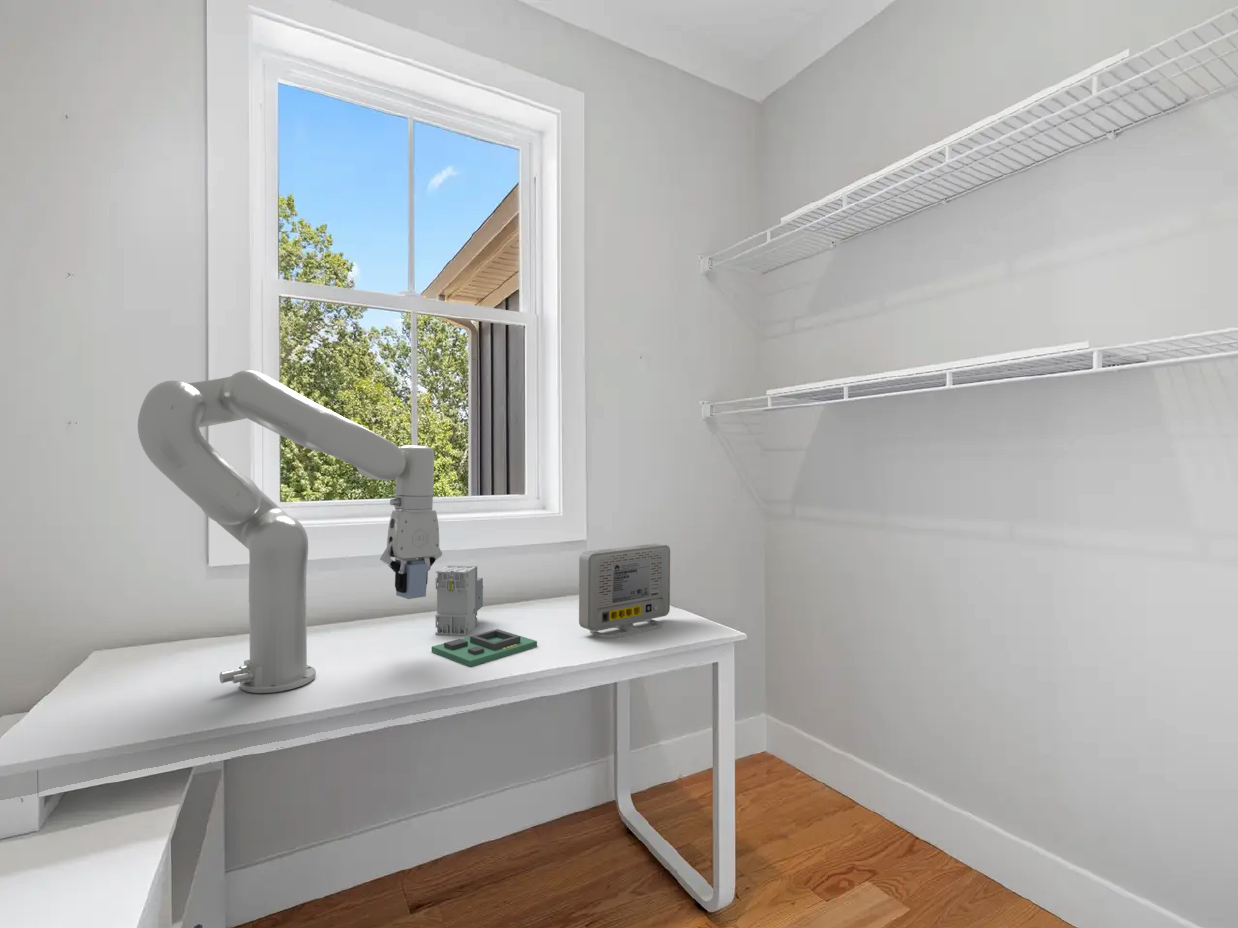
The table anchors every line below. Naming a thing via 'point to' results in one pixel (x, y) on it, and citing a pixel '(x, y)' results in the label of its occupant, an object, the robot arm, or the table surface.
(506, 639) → the board
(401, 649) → the table surface
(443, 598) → the circuit breaker
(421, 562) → the plug
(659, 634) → the table surface
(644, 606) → the network device
